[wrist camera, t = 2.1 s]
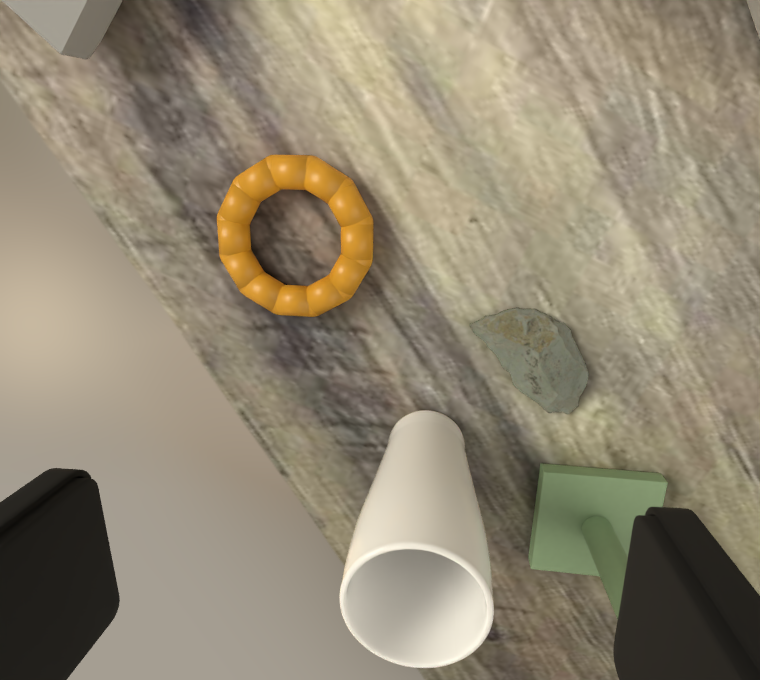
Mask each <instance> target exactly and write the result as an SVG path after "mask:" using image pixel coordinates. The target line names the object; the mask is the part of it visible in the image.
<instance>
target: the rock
mask: <svg viewBox="0 0 760 680" xmlns="http://www.w3.org/2000/svg"><path fill="white" fill-rule="evenodd" d="M469 326H470V327H471V328H472V330H473V332H474V333H475V334H476V336H478V337H480V338H481V339H482V340H483V341H484V342H485V343H486V345H487V347H488V348H489V349H490V350H492V351H493V352H494V354H495V355H496V356H497V357H498V359H499V361H500V362H501V365H502V367H503V369H505V370H506V371H508V372H509V373H510V374H511V377H512V381H513V385H514V386H515V387H516V388H517V389H519V390H520V392H522V393H523V394H525V395H527V396H528V397H530V398H531V399H532V400H534V401H536V402H537V403H538V404H539V405H541V406H542V407H543V409H544V410H545V411H547V412H548V413H552V412H564V413H566V414H570V413H571V412H572V411H573V409H574V408H575V407H578V406H579V405H578V400H579V396H580V395H581V394H582V392H583V390H584V389H585V387H586V385H587V381H588V376H589V373H588V370H587V368H586V363H585V362H584V360H583V358H582V356H581V354H580V352H579V350H578V348H577V344H576V343H575V342H574V339H573V337H572V334H571V330H570V329H569V328H568V327H567V326H566V325H565V323H560V322H557V321H556V320H554V319H553V318H552V317H551V316H547V315H546V314H545V313H540V312H539V311H537V310H536V309H521V308H514V309H507V310H505V311H502V312H500V313H498V314H497V315H489V316H485V317H484V318H483V319H481V320H478V321H476V322H474V323H471V324H469Z"/></svg>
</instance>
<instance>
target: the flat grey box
mask: <svg viewBox="0 0 760 680" xmlns="http://www.w3.org/2000/svg"><path fill="white" fill-rule="evenodd" d="M2 1H3V2H4V3H5V4H6V5H7V6H8V7H9V8H11V9H12V10H13V11H14V12H15V13H16V14H17V15H18V16H19V17H20V18H22V19H23V20H24V21H25V22H26V23H27V24H28V25H29V26H30V27H31V28H32V29H34V30H35V31H36V32H37V33H38V34H39V35H40V36H41V37H42V38H43V39H45V40H46V41H47V42H48V43H49V44H50V45H51V46H52V47H53V48H54V49H55V50H57V51H58V52H59V53H60V54H62V55H67V56H72V57H77V58H82V59H88V58H90V57H91V55H92V54H93V53H94V51H95V50H96V48H97V47H98V45H99V44H100V42H101V41H102V39H103V37H104V35H105V33H106V31H107V29H108V27H109V26H110V24H111V22H112V20H113V18H114V16H115V14H116V12H117V10H118V8H119V6H120V5H121V3H122V1H123V0H2Z"/></svg>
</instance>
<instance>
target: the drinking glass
mask: <svg viewBox="0 0 760 680" xmlns="http://www.w3.org/2000/svg"><path fill="white" fill-rule="evenodd" d="M340 607H341V612H342V616H343V618H344V621H345V623H346V625H347V627H348V628H349V630H350V631H351V633H352V634H353V635H354V637H355V638H356V639H357V640H358V641H359V642H360V643H361V644H362V645H363V646H364V647H365V648H367V649H368V650H369V651H371V652H372V653H374V654H375V655H377V656H379V657H381V658H383V659H385V660H387V661H390V662H392V663H395V664H399V665H403V666H408V667H415V668H434V667H441V666H445V665H449V664H452V663H455V662H457V661H460V660H462V659H464V658H465V657H467V656H469V655H470V654H471V653H473V652H474V651H475V650H476V649H477V648H478V647H479V646H480V645H481V644H482V643H483V642H484V640H485V639H486V637H487V635H488V633H489V631H490V629H491V626H492V622H493V617H494V603H493V586H492V572H491V563H490V555H489V548H488V543H487V537H486V532H485V527H484V523H483V519H482V515H481V512H480V508H479V504H478V500H477V496H476V492H475V488H474V484H473V481H472V477H471V473H470V469H469V464H468V460H467V456H466V449H465V441H464V437H463V434H462V432H461V430H460V429H459V427H458V426H457V424H456V423H455V422H454V421H453V420H451V419H450V418H449V417H447V416H446V415H444V414H442V413H439V412H436V411H430V410H421V411H415V412H412V413H410V414H407V415H406V416H404V417H403V418H401V419H400V420H399V421H398V422H397V423H396V424H395V426H394V427H393V429H392V431H391V433H390V436H389V441H388V445H387V448H386V450H385V453H384V456H383V458H382V461H381V463H380V466H379V468H378V470H377V473H376V475H375V478H374V480H373V483H372V485H371V487H370V490H369V492H368V495H367V497H366V500H365V502H364V504H363V507H362V509H361V512H360V515H359V517H358V520H357V523H356V526H355V529H354V532H353V535H352V539H351V542H350V546H349V550H348V554H347V559H346V564H345V568H344V573H343V579H342V584H341V588H340Z"/></svg>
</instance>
